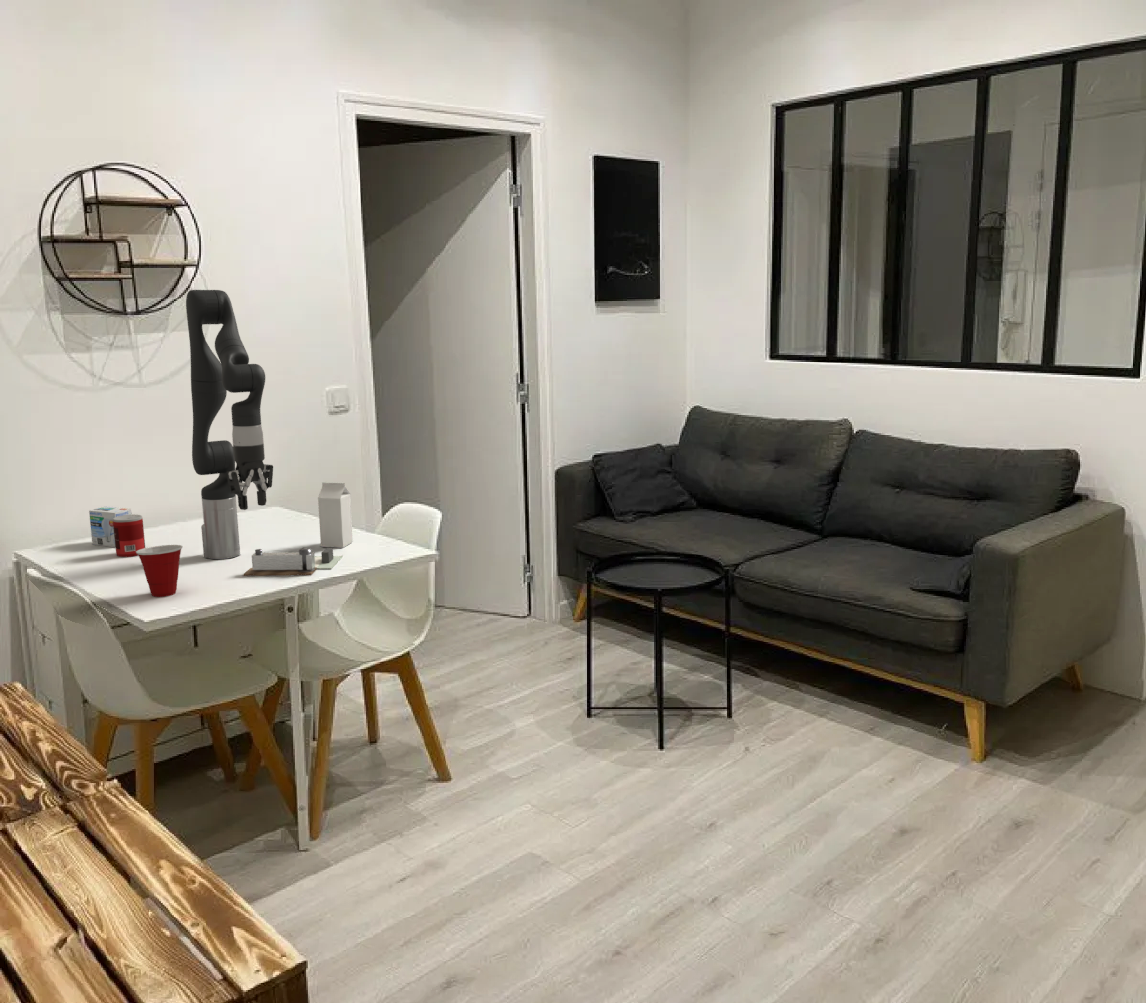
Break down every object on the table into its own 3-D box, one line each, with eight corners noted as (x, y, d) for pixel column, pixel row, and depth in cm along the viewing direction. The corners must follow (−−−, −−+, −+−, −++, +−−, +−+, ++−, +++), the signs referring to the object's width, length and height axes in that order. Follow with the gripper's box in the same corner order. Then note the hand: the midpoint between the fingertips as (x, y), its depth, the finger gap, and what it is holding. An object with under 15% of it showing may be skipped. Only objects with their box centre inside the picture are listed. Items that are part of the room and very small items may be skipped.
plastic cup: (176, 585, 259) (172, 540, 257) (193, 593, 251) (189, 547, 249) (133, 593, 252) (128, 547, 249) (150, 602, 244) (145, 554, 242)
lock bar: (315, 566, 271) (314, 547, 270) (312, 569, 268) (311, 550, 267) (256, 567, 271) (254, 548, 270) (252, 570, 268) (251, 551, 267)
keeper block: (322, 564, 278) (321, 552, 277) (326, 560, 283) (325, 548, 282) (329, 564, 278) (328, 552, 277) (333, 560, 283) (332, 548, 282)
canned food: (151, 552, 294) (148, 515, 291) (129, 558, 287) (125, 521, 284) (132, 549, 297) (129, 513, 295) (110, 555, 290) (106, 518, 288)
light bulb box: (91, 545, 303) (87, 510, 301) (109, 540, 310) (105, 505, 307) (118, 547, 299) (114, 512, 297) (135, 542, 306) (132, 508, 303)
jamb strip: (243, 575, 267) (243, 572, 267) (250, 570, 273) (250, 566, 273) (311, 575, 267) (311, 572, 267) (317, 569, 273) (317, 566, 273)
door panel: (250, 570, 273) (250, 568, 273) (265, 557, 286) (265, 556, 286) (331, 569, 273) (331, 567, 273) (342, 557, 286) (342, 555, 285)
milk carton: (343, 548, 296) (339, 485, 292) (320, 547, 298) (317, 484, 294) (353, 542, 303) (349, 480, 299) (331, 541, 304) (327, 480, 301)
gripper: (237, 447, 248) (242, 513, 252) (279, 440, 261) (283, 503, 264) (215, 445, 252) (221, 511, 255) (258, 438, 264) (263, 501, 268)
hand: (252, 507), depth 260 cm, fingers open, 5 cm apart
